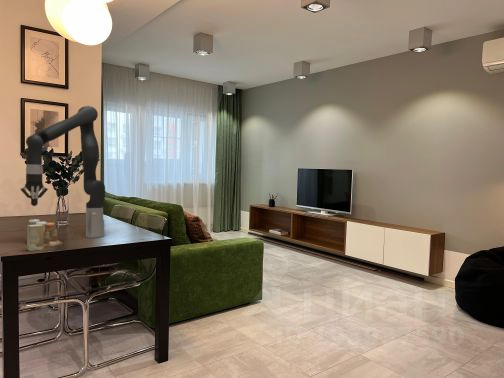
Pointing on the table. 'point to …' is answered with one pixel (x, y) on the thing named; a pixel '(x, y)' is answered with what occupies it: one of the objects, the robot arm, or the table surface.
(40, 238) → the skincare box
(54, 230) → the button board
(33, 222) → the white plug
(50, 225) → the rust plug
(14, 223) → the table surface
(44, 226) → the white plug
